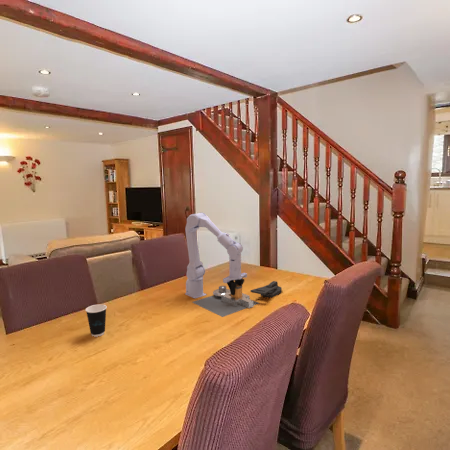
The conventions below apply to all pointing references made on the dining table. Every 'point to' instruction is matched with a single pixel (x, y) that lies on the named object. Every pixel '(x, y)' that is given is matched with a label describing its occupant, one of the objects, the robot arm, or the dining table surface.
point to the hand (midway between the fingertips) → (235, 293)
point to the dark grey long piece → (268, 290)
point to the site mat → (219, 306)
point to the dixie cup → (96, 319)
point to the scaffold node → (228, 299)
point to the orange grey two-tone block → (238, 291)
